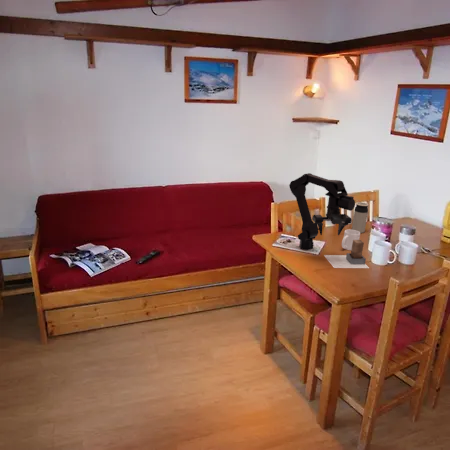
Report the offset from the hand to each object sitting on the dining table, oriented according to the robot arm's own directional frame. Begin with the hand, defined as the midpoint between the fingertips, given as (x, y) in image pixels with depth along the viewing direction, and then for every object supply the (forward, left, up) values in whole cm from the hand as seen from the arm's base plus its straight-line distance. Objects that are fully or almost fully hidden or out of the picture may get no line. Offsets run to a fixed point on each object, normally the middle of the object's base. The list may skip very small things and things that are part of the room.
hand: (329, 235), depth 207 cm
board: (+8, -6, -13) cm, 16 cm away
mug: (+16, +12, -13) cm, 24 cm away
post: (+13, -6, -12) cm, 19 cm away
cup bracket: (+13, -6, -13) cm, 19 cm away
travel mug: (+35, +44, -13) cm, 58 cm away
